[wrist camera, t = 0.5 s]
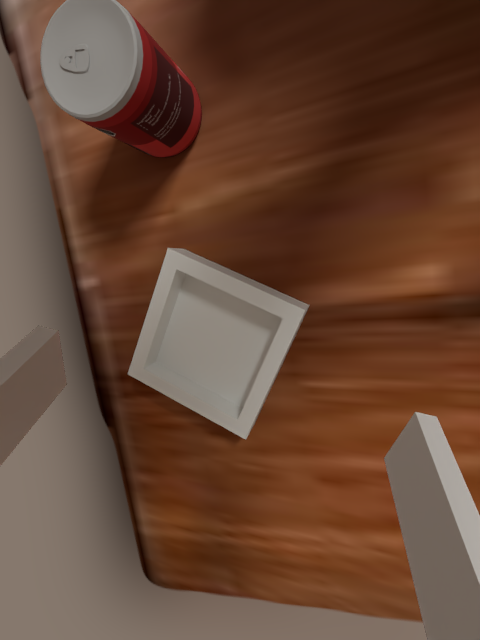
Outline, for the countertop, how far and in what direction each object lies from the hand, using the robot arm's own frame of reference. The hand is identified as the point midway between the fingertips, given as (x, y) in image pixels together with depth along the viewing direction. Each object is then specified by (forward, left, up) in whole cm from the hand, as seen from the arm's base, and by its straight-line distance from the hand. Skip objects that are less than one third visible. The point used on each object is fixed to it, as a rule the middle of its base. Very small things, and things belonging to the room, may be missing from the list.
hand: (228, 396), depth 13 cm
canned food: (-12, -20, -22) cm, 31 cm away
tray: (+6, -7, -21) cm, 23 cm away
